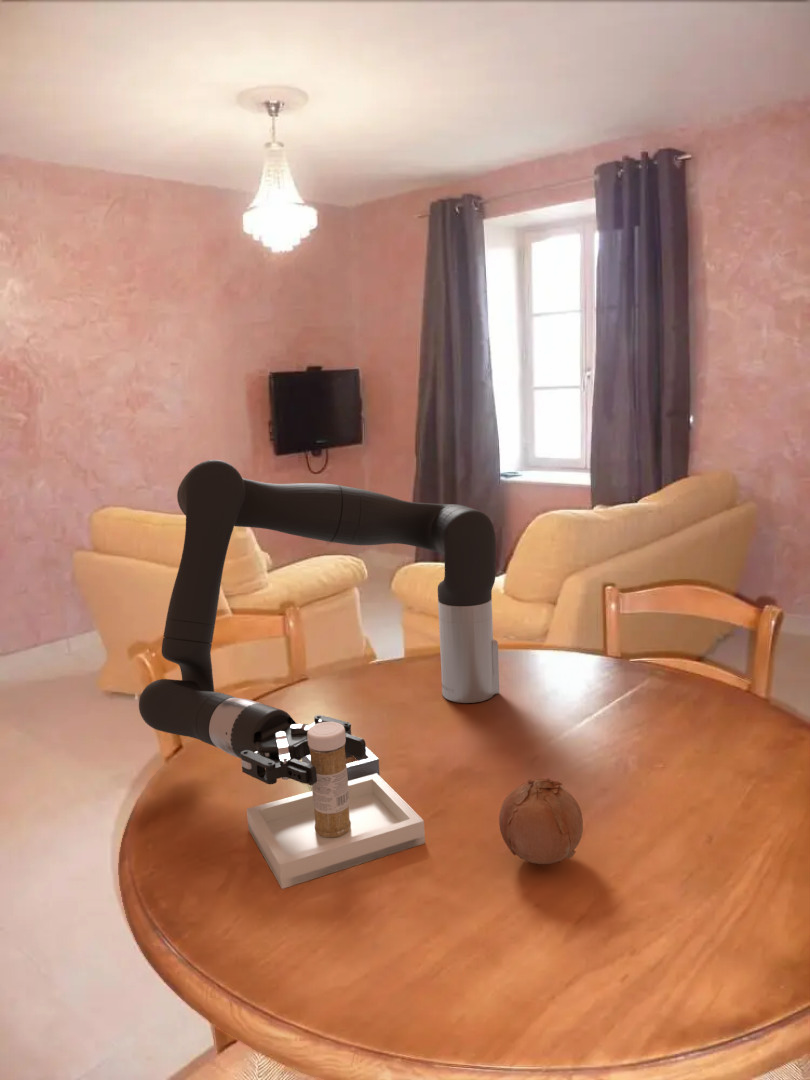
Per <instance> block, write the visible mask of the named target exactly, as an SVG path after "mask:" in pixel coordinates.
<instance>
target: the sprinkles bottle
mask: <svg viewBox="0 0 810 1080" xmlns="http://www.w3.org/2000/svg"><path fill="white" fill-rule="evenodd" d="M307 738H308V746H309V749H310V757H311V765H313V766H314V767H315V768H316V773H317V782H316V783H315V784H313V785H311V789H312V790H311V791H312V793H313V806H314V813H315V831H316V832H317V833H318V834H319V835H321V836H324V837H337V836H341V835H343V834H345V833H346V832H347V831H348V830H349V829H350V827H351V822H350V820H349V791H348V776H347V764H348V763H347V760H346V759H347V758H346V757H345V742H346V736H345V728H344V726H343V725H342V724H340V723H337V722H321V723H317V724H315V725H313V726H311V727H310V728H309V729H308V731H307Z"/></svg>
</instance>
